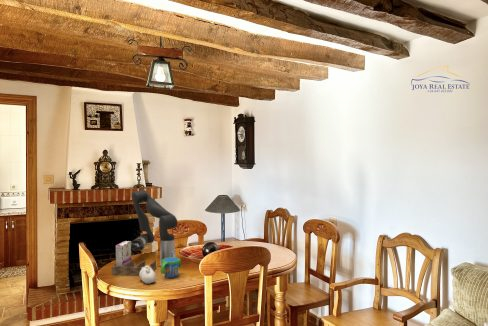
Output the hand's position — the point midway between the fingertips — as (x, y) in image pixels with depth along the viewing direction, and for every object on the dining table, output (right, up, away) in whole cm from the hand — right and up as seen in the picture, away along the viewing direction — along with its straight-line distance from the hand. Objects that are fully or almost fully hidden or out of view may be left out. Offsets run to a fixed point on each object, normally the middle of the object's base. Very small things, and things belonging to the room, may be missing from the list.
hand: (129, 249), depth 239 cm
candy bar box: (-1, -11, -8) cm, 13 cm away
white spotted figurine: (+19, -12, -27) cm, 36 cm away
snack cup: (+31, -12, -19) cm, 38 cm away
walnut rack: (+6, -12, -9) cm, 16 cm away
